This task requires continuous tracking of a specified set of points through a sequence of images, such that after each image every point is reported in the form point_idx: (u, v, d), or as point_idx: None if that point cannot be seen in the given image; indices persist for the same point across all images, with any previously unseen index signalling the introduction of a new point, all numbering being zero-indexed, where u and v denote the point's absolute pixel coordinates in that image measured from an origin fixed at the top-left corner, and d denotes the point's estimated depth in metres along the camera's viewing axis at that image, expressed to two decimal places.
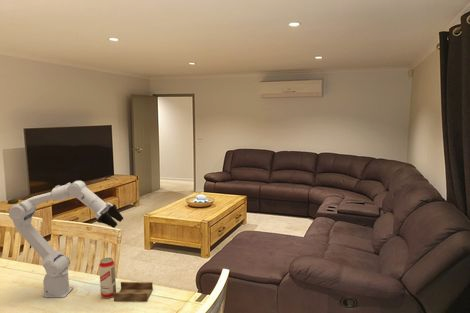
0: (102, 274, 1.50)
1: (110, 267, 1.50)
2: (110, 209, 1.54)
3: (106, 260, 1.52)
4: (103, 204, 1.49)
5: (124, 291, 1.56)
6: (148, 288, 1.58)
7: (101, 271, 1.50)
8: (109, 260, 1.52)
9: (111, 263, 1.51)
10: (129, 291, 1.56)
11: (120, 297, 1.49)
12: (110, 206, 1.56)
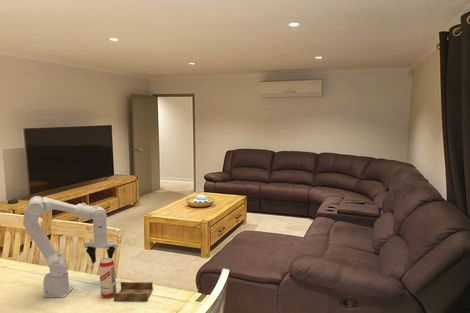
0: (102, 274, 1.50)
1: (110, 267, 1.50)
2: (93, 248, 1.62)
3: (106, 260, 1.52)
4: None
5: (124, 291, 1.56)
6: (148, 288, 1.58)
7: (101, 271, 1.50)
8: (109, 260, 1.52)
9: (111, 263, 1.51)
10: (129, 291, 1.56)
11: (120, 297, 1.49)
12: None
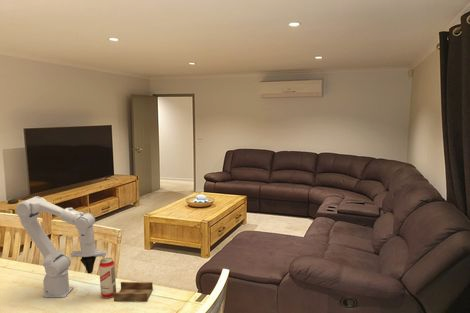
0: (102, 274, 1.50)
1: (110, 267, 1.50)
2: (88, 257, 1.52)
3: (106, 260, 1.52)
4: None
5: (124, 291, 1.56)
6: (148, 288, 1.58)
7: (101, 271, 1.50)
8: (109, 260, 1.52)
9: (111, 263, 1.51)
10: (129, 291, 1.56)
11: (120, 297, 1.49)
12: None
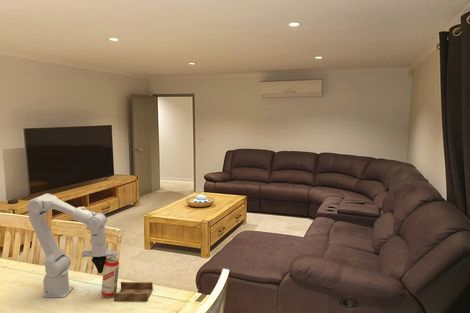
0: (106, 273, 1.50)
1: (115, 267, 1.50)
2: (99, 257, 1.52)
3: (111, 259, 1.52)
4: None
5: (124, 291, 1.56)
6: (148, 288, 1.58)
7: (105, 270, 1.50)
8: (114, 260, 1.52)
9: (116, 263, 1.51)
10: (129, 291, 1.56)
11: (120, 297, 1.49)
12: None
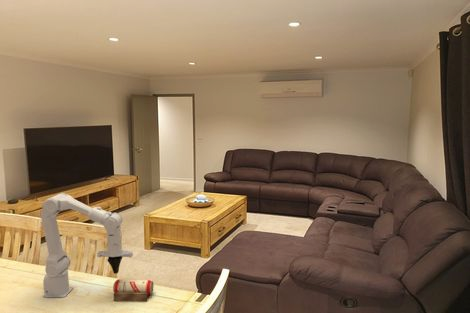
0: (138, 287, 1.51)
1: None
2: (115, 257, 1.52)
3: (151, 286, 1.54)
4: None
5: None
6: None
7: (141, 286, 1.51)
8: (151, 289, 1.54)
9: None
10: None
11: (120, 297, 1.49)
12: None
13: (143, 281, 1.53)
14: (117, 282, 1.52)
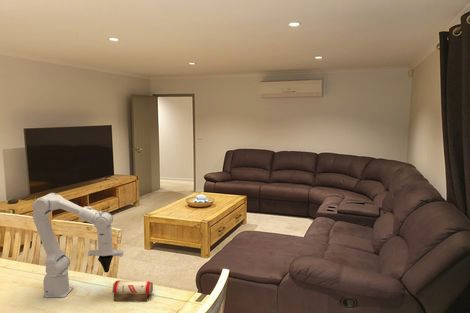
0: (137, 291, 1.50)
1: None
2: (105, 256, 1.53)
3: (150, 287, 1.53)
4: None
5: None
6: None
7: (140, 290, 1.50)
8: (151, 290, 1.53)
9: (149, 294, 1.53)
10: None
11: (120, 297, 1.49)
12: None
13: (142, 284, 1.51)
14: (115, 286, 1.51)
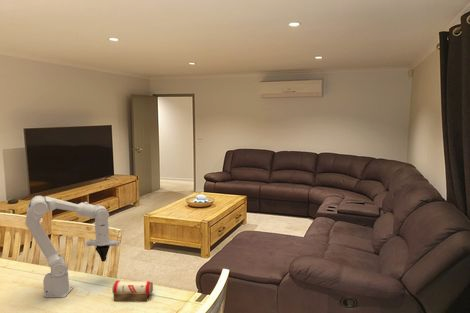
0: (137, 291, 1.50)
1: None
2: (102, 246, 1.64)
3: (150, 287, 1.53)
4: None
5: None
6: None
7: (140, 290, 1.50)
8: (151, 290, 1.53)
9: (149, 294, 1.53)
10: None
11: (120, 297, 1.49)
12: None
13: (142, 284, 1.51)
14: (115, 286, 1.51)
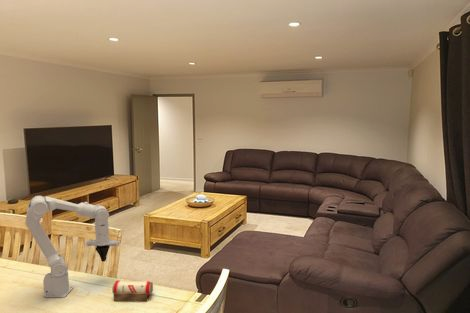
0: (137, 291, 1.50)
1: None
2: (102, 246, 1.64)
3: (150, 287, 1.53)
4: None
5: None
6: None
7: (140, 290, 1.50)
8: (151, 290, 1.53)
9: (149, 294, 1.53)
10: None
11: (120, 297, 1.49)
12: None
13: (142, 284, 1.51)
14: (115, 286, 1.51)
